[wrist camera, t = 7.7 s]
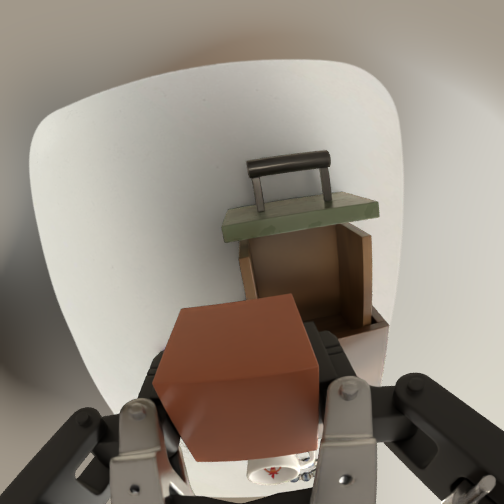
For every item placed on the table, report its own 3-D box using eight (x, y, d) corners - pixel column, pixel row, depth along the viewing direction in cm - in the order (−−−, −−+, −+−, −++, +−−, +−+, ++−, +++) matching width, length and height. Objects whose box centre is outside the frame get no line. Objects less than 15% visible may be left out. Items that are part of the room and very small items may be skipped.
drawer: (219, 167, 25) (209, 166, 17) (337, 150, 24) (372, 145, 17) (251, 330, 30) (254, 377, 22) (349, 311, 30) (376, 350, 22)
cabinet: (240, 301, 30) (240, 357, 21) (351, 281, 30) (389, 325, 20) (261, 392, 34) (265, 448, 25) (350, 374, 34) (372, 423, 25)
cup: (311, 420, 37) (321, 459, 29) (308, 444, 39) (315, 479, 31) (243, 427, 37) (244, 468, 29) (247, 450, 39) (248, 486, 31)
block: (180, 308, 11) (151, 383, 6) (291, 292, 10) (319, 365, 6) (206, 386, 12) (196, 462, 8) (298, 375, 12) (317, 450, 8)
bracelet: (326, 452, 40) (328, 460, 39) (327, 470, 43) (329, 477, 41) (276, 463, 41) (277, 471, 39) (283, 479, 44) (284, 486, 42)
